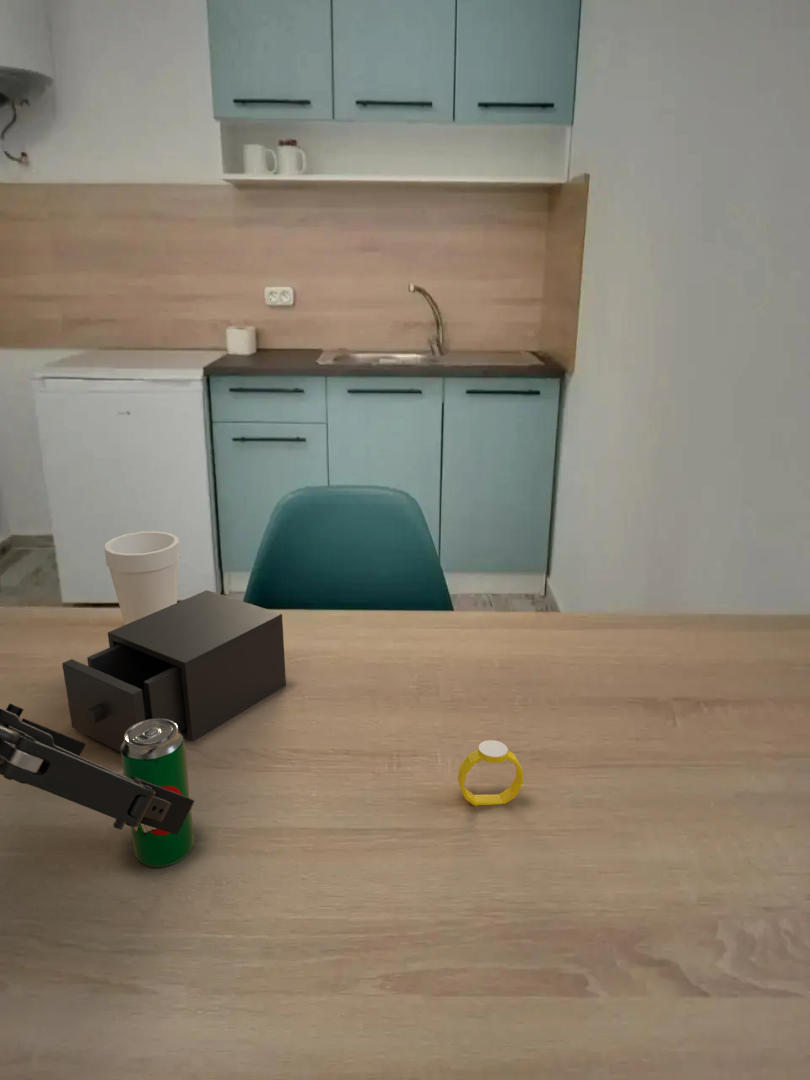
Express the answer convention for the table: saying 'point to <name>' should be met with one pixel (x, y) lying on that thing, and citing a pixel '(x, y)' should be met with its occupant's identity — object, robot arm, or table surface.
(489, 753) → the watch
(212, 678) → the cabinet
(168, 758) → the soda can
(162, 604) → the foam cup
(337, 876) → the table surface
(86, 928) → the table surface
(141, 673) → the drawer
